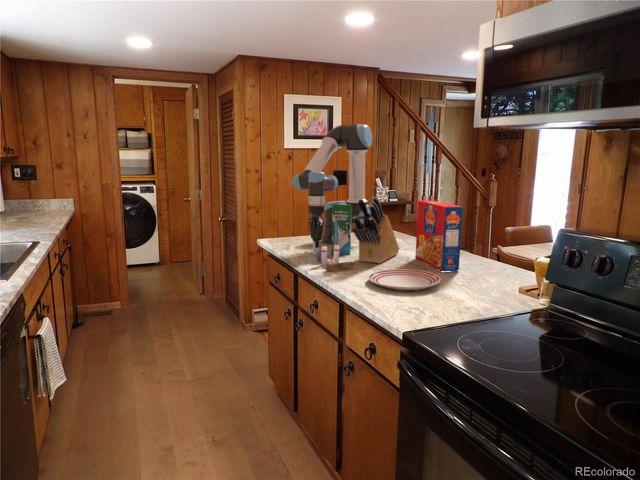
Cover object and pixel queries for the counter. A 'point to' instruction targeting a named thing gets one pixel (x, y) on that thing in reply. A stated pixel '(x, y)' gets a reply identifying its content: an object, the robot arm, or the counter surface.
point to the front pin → (330, 261)
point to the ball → (320, 255)
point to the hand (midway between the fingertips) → (316, 254)
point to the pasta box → (439, 234)
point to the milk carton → (341, 228)
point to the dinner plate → (404, 279)
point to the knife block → (374, 234)
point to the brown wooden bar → (339, 266)
